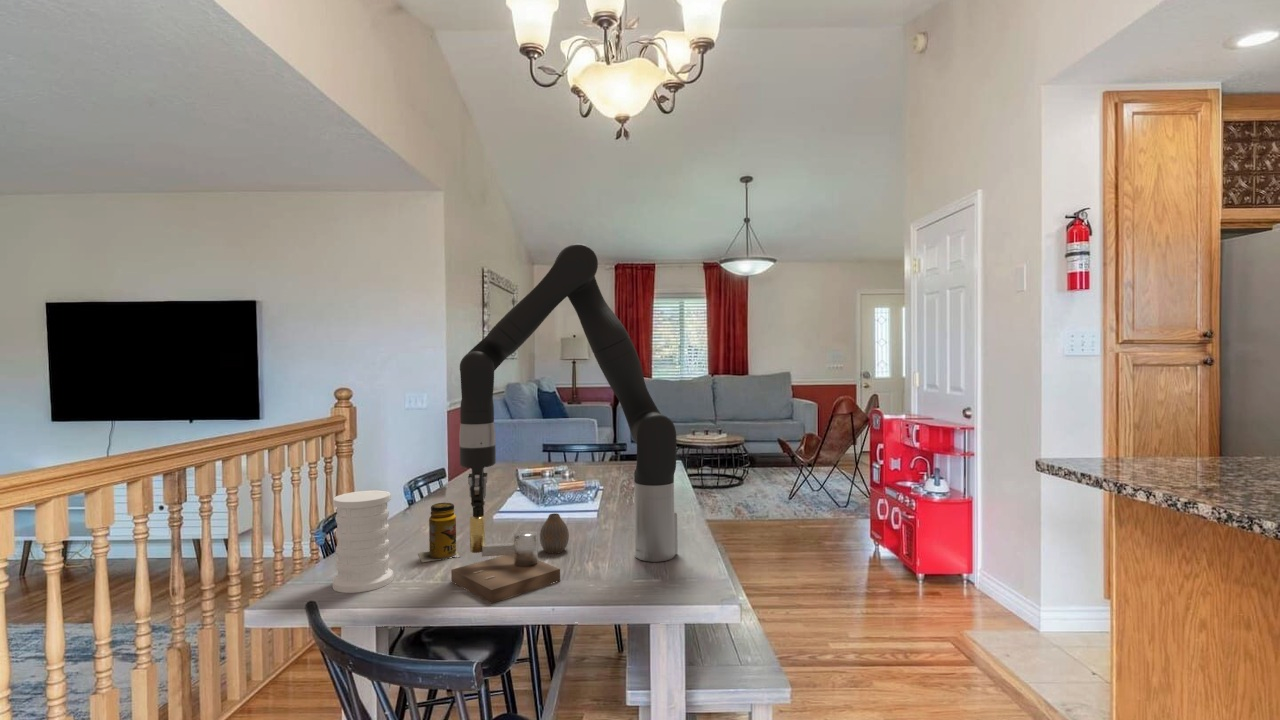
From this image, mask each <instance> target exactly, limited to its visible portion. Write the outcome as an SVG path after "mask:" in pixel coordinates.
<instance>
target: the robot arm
mask: <svg viewBox="0 0 1280 720" xmlns="http://www.w3.org/2000/svg"><path fill="white" fill-rule="evenodd" d="M598 265H599V262H598V257H597V254H596V253H595V251H594V250H593V249H592V248H591V247H590V246H589V245H588V246H587V245H586V244H582V243H574V244H570V245H568V246H565V247H564V248H563V249H561V250H560V252H559V254H558V255H557V256H556V258H555V260H554V263H553V265H552V266H551V268H550V269H549V271H548V272H547V273H546V274H545V276H544V277H543V278H542V279H541V280H540V282H538V284H537V285H536V286H535V287H534V288H533V289H532V290H531V291H530V292H528V294H526V295H525V297H523V298H522V299H521V300H519V302H518V303H517V304H516V305H514V306H513V307H512V308H511V309H510V310H509V311H508V312H507V313H506V314H505V315H504V316H503V317H502V318H501V319H500V320H499V321H498V322H497V323H496V324H495V325H494V326H493V327H492V329H491V330H490V331H489V332H488V334H487V335H486V336H485V337H484V338H483V339H481V340H480V341H479V342H478V343H477V344H476V345H475V346H474V347H472V349H470V350H469V352H467V353H466V354H465V355H464V356H463V357H462V359H461V360H460V363H459V373H460V376H459V377H460V390H461V399H460V400H461V401H460V406H459V407H460V412H459V413H460V421H459V423H460V424H459V426H460V427H459V436H458V437H459V438H458V439H459V441H458V442H459V466H460V467H461V468H465V469H468V468H469V469H471V473H468V475H467V483H468V485H469V487H468V488H469V497H470V500H471V502H470V505H471V508H472V516H484V517H485V513H484V512H485V509H484V508H485V505H486V501H485V499H486V495H487V483H488V479H489V478H488V472H485V468H490V467H492V466H495V464H496V462H497V461H496V459H497V458H496V453H497V452H496V429H495V408H494V407H495V405H494V389H495V388H494V385H495V371H496V370H497V368H499V366H500V365H501V364H503V362H504V361H505V360H506V359H507V358H509V356H511V355H513V354H514V353H515V352H516V351H517V350H518V349H519V348H520V347H522V345H523V344H524V343H525V342H526V341H527V340H528V339H529V338H530V337H531V335H533V333H534V332H535V331H536V330H537V329H538V328H539V327H540V326H541V325H542V324H543V322H544V321H545V320H546V319H547V318H548V317H549V315H550V314H551V313H552V312H553V311H554V310H555V308H557V307H558V305H559V304H561V303H562V301H563V300H565V299H566V298H568V300H569V302H570V304H571V305H572V307H573V308H574V311H575V313H576V315H577V317H578V319H579V321H580V322H579V323H580V324H581V327H582V329H583V332H584V335H585V338H586V340H587V341H588V344H589V347H590V348H591V352H592V353H593V356H594V358H595V359H596V362H597V364H598V366H599V368H600V370H601V371H602V373H603V376H604V377H605V380H606V382H607V383H608V385H609V386H610V388H611V389H612V391H613V393H614V395H615V396H616V398H617V400H618V402H619V403H620V406H621V409H622V411H623V415H624V417H625V419H626V422H627V424H628V428H629V430H630V435H631V436H632V439H633V441H634V443H635V444H636V466H635V469H634V472H633V473H634V474H633V476H634V477H633V479H634V481H633V483H634V486H633V488H634V550H635V551H634V557H635V558H636V559H637V560H640V561H645V562H651V563H652V562H653V563H654V562H657V563H659V562H666V561H670V560H672V559H673V558H675V557H676V555H678V547H679V546H678V541H679V540H678V514H677V512H675V473H676V469H677V443H678V442H677V431H676V427H675V424H674V422H673V421H672V419H670V418H669V417H668V416H666V415H664V414H662V413H661V412H660V410H659V409H658V407H657V405H656V404H655V403H656V402H655V401H654V400H653V398H652V395H651V394H650V392H649V390H648V388H647V385H646V381H645V377H644V372H643V369H642V365H641V364H642V363H641V360H640V358H639V355H638V352H637V350H636V348H635V345H634V343H633V341H632V339H631V337H630V334H629V332H628V330H627V329H626V328H625V326H624V325H623V323H622V322H621V320H620V318H618V316H617V315H616V314H615V313H614V311H613V310H612V309H611V307H610V306H609V304H608V303H607V301H606V300H605V298H604V296H603V294H602V291H601V289H600V287H599V285H598V282H597V280H596V274H597V272H598Z"/></svg>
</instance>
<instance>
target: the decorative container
mask: <svg viewBox="0 0 1280 720" xmlns="http://www.w3.org/2000/svg"><path fill="white" fill-rule="evenodd" d="M391 497H392V495H391V492H390V491H387V490H376V489H375V490H373V489H371V490H370V489H369V490H359V491H352V492H346V493H343V494H338V495H336V496H335V497H333V507H335V508H336V515H335V518H334V519H335V522H336V525H337V529H336V531H335V537H336V540H337V545H336V547H335V552H336V555H337V560H336V564H335V567H336V570H337V575H336V576H335V577H333V579H332V589H333V590H334V591H335V592H338V593H343V594H353V593H354V594H355V593H364V592H369V591H373V590H377V589H380V588H384V587H385V586H387V585H389V584H390V583H392V582H393V580H394V577H395V576H394V570H392V569H391V568H389V563H390V559H391V558H390V555H389V554H390V553H389V549H388V548H389V547H390V540H389V538H388V537H389V535H388V533H389V531H390V525H389V523H388V519H389V514H390V511H389V508H388V502H390V501H391V500H392V498H391Z"/></svg>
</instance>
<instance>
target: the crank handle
mask: <svg viewBox="0 0 1280 720" xmlns="http://www.w3.org/2000/svg"><path fill="white" fill-rule="evenodd" d="M485 517H486V516H485V515H484V516H473V515H472V516H470V517H469V548H470V549H469V550H470V551H469V552H470V553H474V554H478V553H481V557H482V558H483V557H500V556H504V555H514V564H515V565H518V566H529V565H534V564H536V563H537V562H538V560H539V556H538V555H539V551H538V550H539V549H538V548H539V546H538V545H539V544H538V543H539V542H538V540H539V539H538V535H539V533H538V532H537V531H535V530H520V531H517V532H514V533H513V542H504V543H503V542H502V543H501V542H498V543H486V538H485V537H486V528H485V527H486V525H485V524H486V523H485V522H486V521H485V520H486V519H485Z"/></svg>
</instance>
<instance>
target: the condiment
mask: <svg viewBox="0 0 1280 720" xmlns="http://www.w3.org/2000/svg"><path fill="white" fill-rule="evenodd" d="M428 522H429V524H428V526H429V528H428V529H429V531H428V532H429V533H428V534H429V535H428V536H429V537H428V539H429V550H428V551H421V552H418V556H419V558H420V561H421V563H426V562H434V561H443V560H444V559H445V560H447V559H446V558H450V557H451V558H452V557H453V556H455V557H456V556H457V558H461V556H460V553H458V551H457V516H456V514H455V505H454V503H452V502H438V503H434V504H432V505H430V516H429V519H428ZM441 559H443V560H441ZM452 559H453V558H452Z"/></svg>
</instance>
